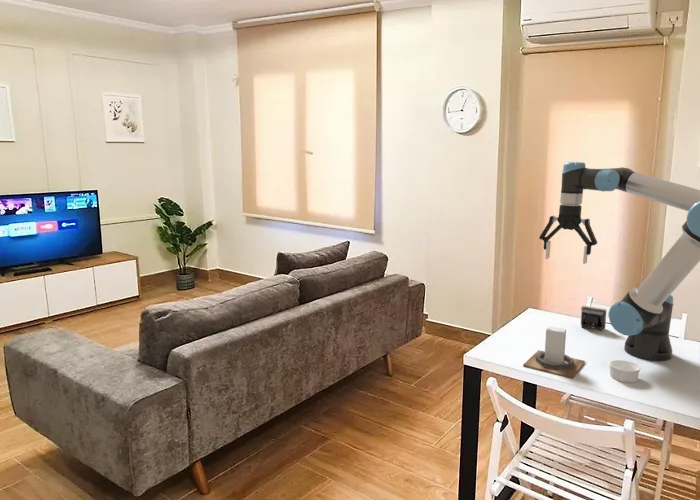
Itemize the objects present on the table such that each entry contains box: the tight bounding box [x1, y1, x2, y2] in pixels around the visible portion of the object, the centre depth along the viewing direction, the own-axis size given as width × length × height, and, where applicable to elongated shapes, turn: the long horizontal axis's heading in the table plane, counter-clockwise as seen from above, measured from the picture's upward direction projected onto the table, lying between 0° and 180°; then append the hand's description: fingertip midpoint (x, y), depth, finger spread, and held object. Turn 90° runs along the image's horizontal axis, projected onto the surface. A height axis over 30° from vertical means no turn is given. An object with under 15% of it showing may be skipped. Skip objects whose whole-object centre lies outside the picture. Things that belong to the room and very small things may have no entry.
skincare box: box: [544, 325, 567, 365], centre depth 183 cm, size 6×4×12 cm
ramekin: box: [609, 359, 641, 384], centre depth 174 cm, size 9×9×4 cm
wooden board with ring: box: [523, 349, 586, 379], centre depth 184 cm, size 16×16×2 cm
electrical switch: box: [580, 305, 607, 332], centre depth 218 cm, size 9×5×9 cm, turn 57°
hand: (565, 260), depth 203 cm, fingers open, 13 cm apart
